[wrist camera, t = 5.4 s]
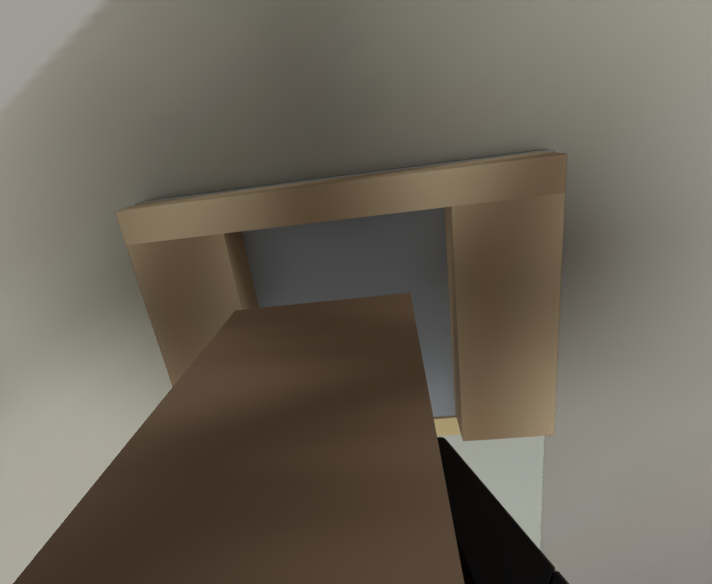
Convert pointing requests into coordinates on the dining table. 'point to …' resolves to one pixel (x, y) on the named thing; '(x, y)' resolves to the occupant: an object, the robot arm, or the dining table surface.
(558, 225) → the rails
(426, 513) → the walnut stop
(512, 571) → the robot arm
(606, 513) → the dining table surface
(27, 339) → the dining table surface
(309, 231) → the door board
